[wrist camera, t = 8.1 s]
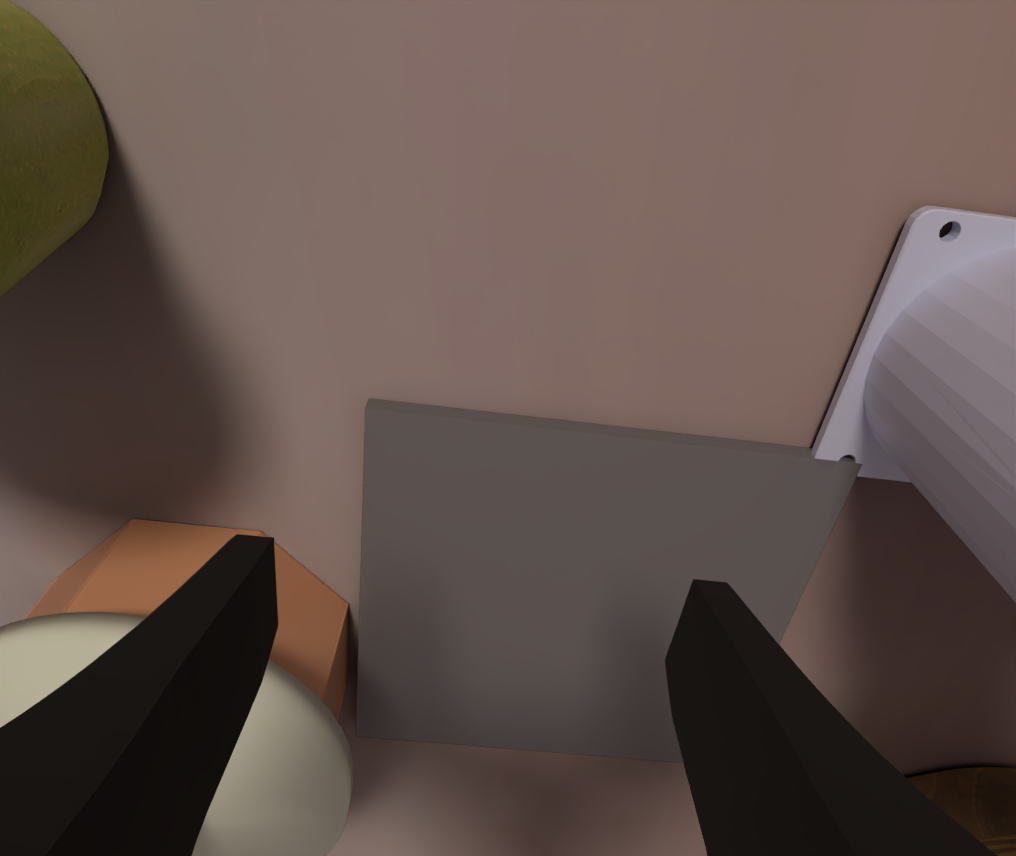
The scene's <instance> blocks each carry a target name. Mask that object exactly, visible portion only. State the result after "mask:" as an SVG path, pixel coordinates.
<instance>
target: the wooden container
mask: <svg viewBox="0 0 1016 856" xmlns="http://www.w3.org/2000/svg"><path fill="white" fill-rule="evenodd" d="M906 779H907V780H909V781H910V782H911V783H912V784H913V785H914V786H915V787H916V788H917V789H918V790H919V791H921V792H922V793H923V794H924V795H925V796H926V797H927V798H929V799H930V800H931V801H932V802H933V803H934V804H935V805H937V806H938V807H939V808H940V809H941V810H942V811H944V812H945V813H946V814H947V815H948V816H950V817H951V818H952V819H953V820H955V821H956V822H957V823H958V824H959V825H961V826H962V827H963V828H964V829H966V830H967V831H968V832H969V833H970V834H972V835H973V836H974V837H975V838H976V839H978V840H979V841H980V842H981V843H983V844H984V845H985V846H986V847H987V848H989V849H990V850H991V851H993V852H994V853H995V854H996V855H998V856H1016V768H1006V767H973V768H961V769H952V770H944V771H938V772H933V773H928V774H923V775H918V776H914V777H910V778H906Z"/></svg>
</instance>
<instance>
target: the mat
mask: <svg viewBox="0 0 1016 856" xmlns="http://www.w3.org/2000/svg"><path fill="white" fill-rule="evenodd" d="M811 450H812V448H804V447H795V446H787V445H778V444H769V443H760V442H751V441H742V440H733V439H724V438H715V437H706V436H698V435H689V434H680V433H671V432H662V431H653V430H644V429H635V428H626V427H617V426H609V425H600V424H591V423H582V422H573V421H564V420H555V419H546V418H537V417H528V416H520V415H511V414H502V413H493V412H484V411H475V410H466V409H457V408H448V407H439V406H431V405H422V404H413V403H404V402H395V401H386V400H377V399H368V402H367V405H366V408H365V432H364V467H363V501H362V536H361V570H360V605H359V639H358V674H357V708H356V736H358V737H370V738H382V739H395V740H407V741H419V742H432V743H444V744H456V745H469V746H481V747H493V748H506V749H518V750H530V751H543V752H555V753H567V754H580V755H592V756H604V757H617V758H629V759H641V760H654V761H666V762H678V763H684V762H683V759H682V755H681V751H680V747H679V743H678V739H677V735H676V731H675V727H674V723H673V719H672V713H671V706H670V699H669V692H668V684H667V675H666V667H665V658H666V655H667V652H668V649H669V646H670V644H671V641H672V638H673V635H674V632H675V629H676V627H677V624H678V621H679V618H680V615H681V612H682V609H683V607H684V604H685V601H686V598H687V595H688V592H689V589H690V587H691V584H692V581H693V579H698V580H708V581H718V582H727V583H728V584H729V585H730V586H731V587H732V588H733V590H734V591H735V592H736V593H737V594H738V596H739V597H740V598H741V599H742V600H743V602H744V603H745V604H746V605H747V607H748V608H749V609H750V610H751V611H752V613H753V614H754V615H755V616H756V618H757V619H758V620H759V621H760V622H761V624H762V625H763V626H764V627H765V628H766V630H767V631H768V632H769V633H770V635H771V636H772V637H773V638H774V639H775V641H776V642H777V643H778V644H780V641H781V639H782V637H783V635H784V633H785V631H786V629H787V626H788V624H789V622H790V620H791V618H792V616H793V613H794V611H795V609H796V607H797V605H798V603H799V600H800V598H801V596H802V594H803V592H804V590H805V587H806V585H807V583H808V581H809V579H810V577H811V574H812V572H813V570H814V568H815V566H816V564H817V562H818V559H819V557H820V555H821V553H822V551H823V549H824V546H825V544H826V542H827V540H828V538H829V536H830V533H831V531H832V529H833V527H834V525H835V523H836V520H837V518H838V516H839V514H840V512H841V510H842V507H843V505H844V503H845V501H846V499H847V497H848V495H849V492H850V490H851V488H852V486H853V484H854V482H855V479H856V477H857V475H858V473H859V471H860V469H861V466H862V464H860V463H855V462H854V460H853V459H852V458H851V457H850V455H845V456H843V457H841V458H840V460H839V461H833V460H831V461H830V460H824V459H816V458H814V456H813V455H812V453H811ZM816 461H818V462H816ZM832 461H833V462H832ZM819 463H820V464H819ZM824 463H825V464H824ZM829 463H830V464H829ZM831 463H832V464H831ZM833 463H834V464H833ZM823 467H824V468H823ZM825 467H827V469H826V468H825ZM832 469H833V470H832ZM825 470H826V471H825Z"/></svg>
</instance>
